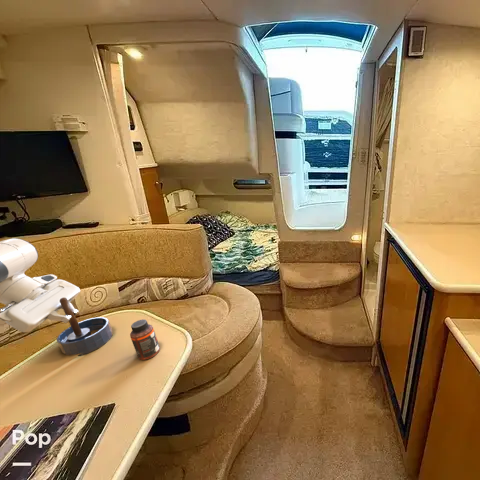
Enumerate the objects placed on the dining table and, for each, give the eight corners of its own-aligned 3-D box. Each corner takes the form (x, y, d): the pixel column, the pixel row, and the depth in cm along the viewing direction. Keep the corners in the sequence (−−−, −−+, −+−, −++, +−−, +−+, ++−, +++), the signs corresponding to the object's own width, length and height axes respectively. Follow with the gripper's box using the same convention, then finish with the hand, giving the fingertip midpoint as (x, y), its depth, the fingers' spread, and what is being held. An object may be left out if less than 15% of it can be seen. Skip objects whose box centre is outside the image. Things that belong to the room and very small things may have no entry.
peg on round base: (66, 345, 86) (46, 301, 81) (86, 333, 91) (68, 291, 85) (76, 349, 84) (56, 304, 78) (96, 337, 89) (78, 294, 83)
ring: (54, 352, 86) (47, 338, 85) (99, 326, 98) (94, 314, 96) (77, 362, 81) (71, 347, 79) (122, 334, 93) (117, 321, 91)
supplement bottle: (164, 349, 84) (154, 319, 80) (146, 363, 79) (135, 331, 75) (152, 344, 87) (142, 315, 83) (134, 357, 82) (122, 327, 78)
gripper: (-5, 306, 70) (52, 331, 74) (56, 271, 89) (98, 293, 93) (-16, 322, 71) (41, 346, 75) (47, 285, 90) (89, 306, 94)
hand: (73, 316), depth 84 cm, fingers closed on peg on round base
